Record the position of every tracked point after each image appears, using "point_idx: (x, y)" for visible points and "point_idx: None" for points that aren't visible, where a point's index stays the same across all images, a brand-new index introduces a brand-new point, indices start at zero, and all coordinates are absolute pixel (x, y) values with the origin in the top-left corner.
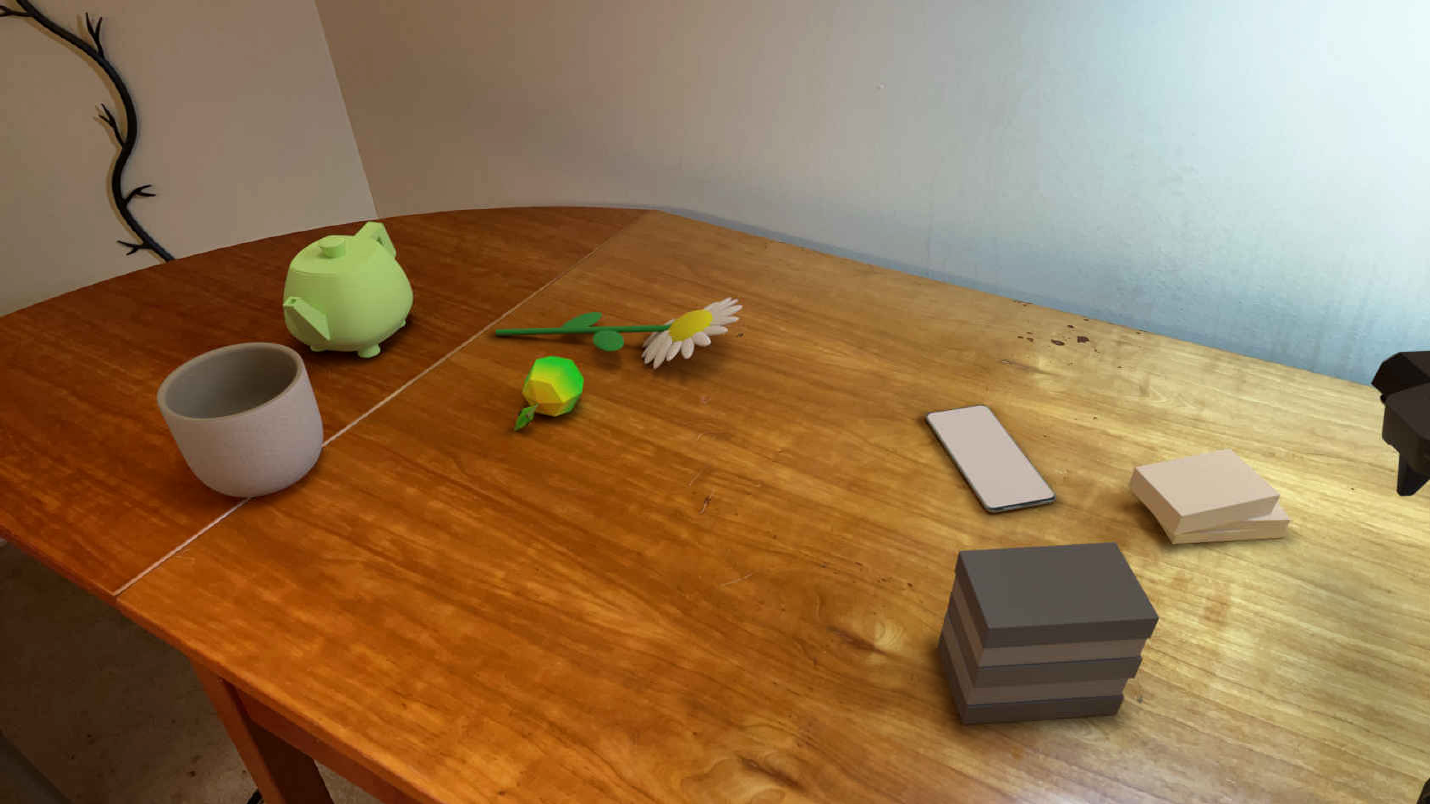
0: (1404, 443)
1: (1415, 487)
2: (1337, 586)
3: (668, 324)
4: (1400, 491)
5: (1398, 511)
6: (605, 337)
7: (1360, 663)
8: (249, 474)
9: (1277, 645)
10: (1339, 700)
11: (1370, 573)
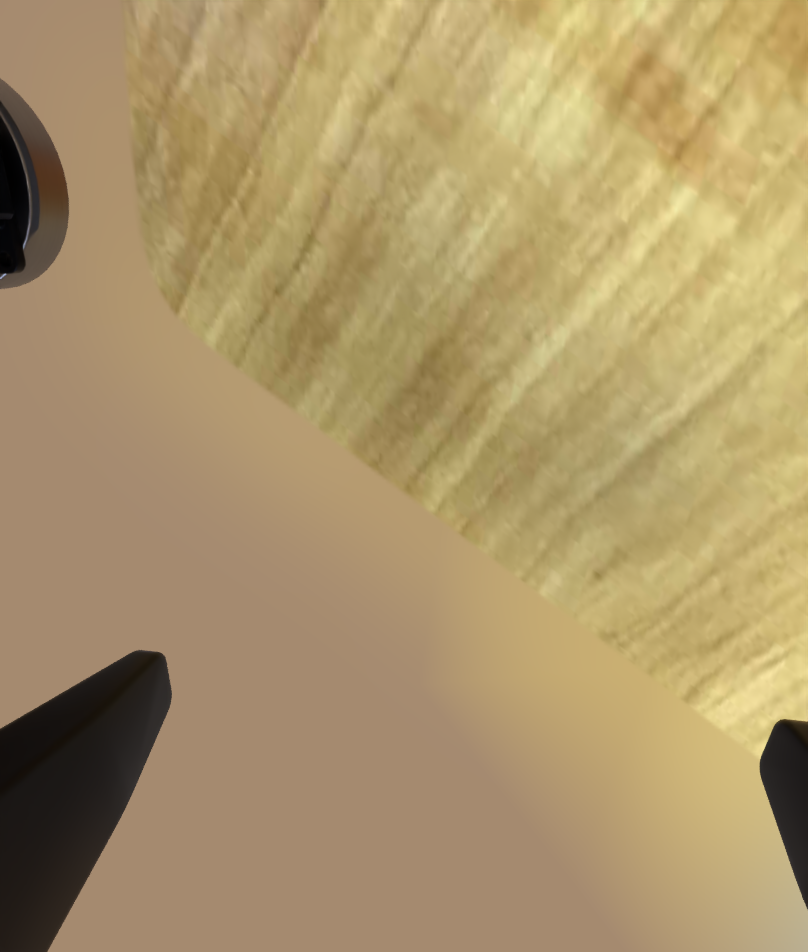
0: None
1: (794, 815)
2: (640, 486)
3: None
4: (805, 738)
5: None
6: None
7: (437, 393)
8: None
9: (516, 226)
10: (351, 280)
11: (652, 575)
